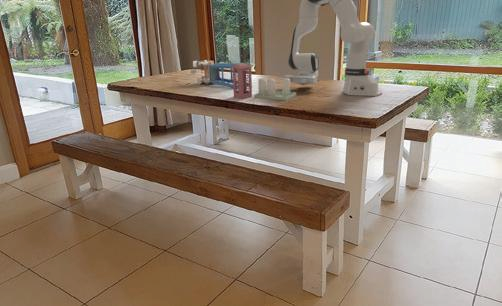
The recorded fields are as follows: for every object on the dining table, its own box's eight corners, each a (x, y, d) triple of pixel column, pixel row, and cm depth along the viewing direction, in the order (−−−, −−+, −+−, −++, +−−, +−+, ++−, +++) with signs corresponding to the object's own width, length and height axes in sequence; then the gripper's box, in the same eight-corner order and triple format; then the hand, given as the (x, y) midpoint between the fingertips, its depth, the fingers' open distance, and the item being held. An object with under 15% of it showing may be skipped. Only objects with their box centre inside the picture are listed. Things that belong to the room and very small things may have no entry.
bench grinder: (204, 57, 283) (252, 61, 257) (205, 80, 289) (253, 86, 263) (187, 60, 271) (236, 64, 245) (189, 84, 277) (237, 90, 251)
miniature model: (245, 96, 231) (243, 61, 224) (253, 98, 223) (252, 63, 216) (232, 98, 226) (230, 63, 219) (240, 100, 219) (238, 65, 212)
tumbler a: (276, 96, 221) (276, 79, 218) (273, 98, 218) (272, 80, 214) (269, 96, 224) (269, 78, 220) (265, 97, 220) (265, 80, 216)
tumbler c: (291, 95, 222) (291, 78, 218) (288, 97, 218) (287, 79, 215) (284, 95, 224) (284, 78, 221) (280, 97, 220) (280, 79, 217)
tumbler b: (268, 96, 224) (267, 78, 221) (264, 97, 220) (263, 80, 217) (261, 95, 226) (260, 78, 223) (257, 97, 223) (256, 79, 219)
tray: (296, 96, 223) (296, 92, 223) (285, 101, 212) (285, 97, 211) (265, 94, 233) (265, 90, 232) (254, 98, 222) (254, 94, 221)
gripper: (288, 71, 242) (278, 74, 231) (319, 72, 232) (310, 76, 221) (288, 81, 244) (278, 85, 233) (318, 83, 234) (310, 87, 223)
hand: (294, 81), depth 227 cm, fingers open, 8 cm apart
